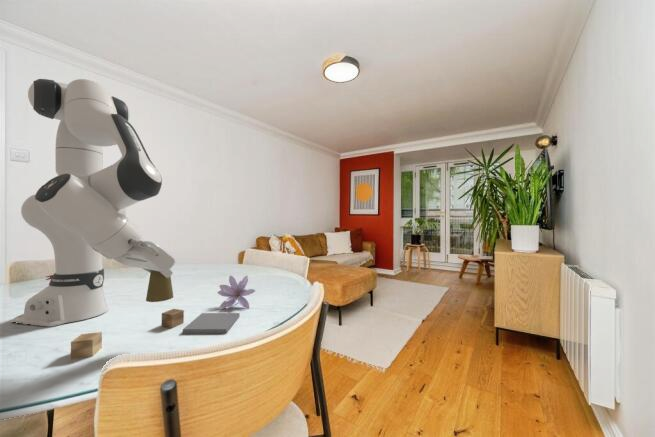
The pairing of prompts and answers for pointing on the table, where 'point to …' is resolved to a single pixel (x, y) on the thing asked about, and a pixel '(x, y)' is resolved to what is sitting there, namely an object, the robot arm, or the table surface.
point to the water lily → (235, 293)
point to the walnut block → (172, 318)
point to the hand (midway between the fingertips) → (163, 274)
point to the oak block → (86, 345)
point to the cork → (159, 288)
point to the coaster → (212, 323)
